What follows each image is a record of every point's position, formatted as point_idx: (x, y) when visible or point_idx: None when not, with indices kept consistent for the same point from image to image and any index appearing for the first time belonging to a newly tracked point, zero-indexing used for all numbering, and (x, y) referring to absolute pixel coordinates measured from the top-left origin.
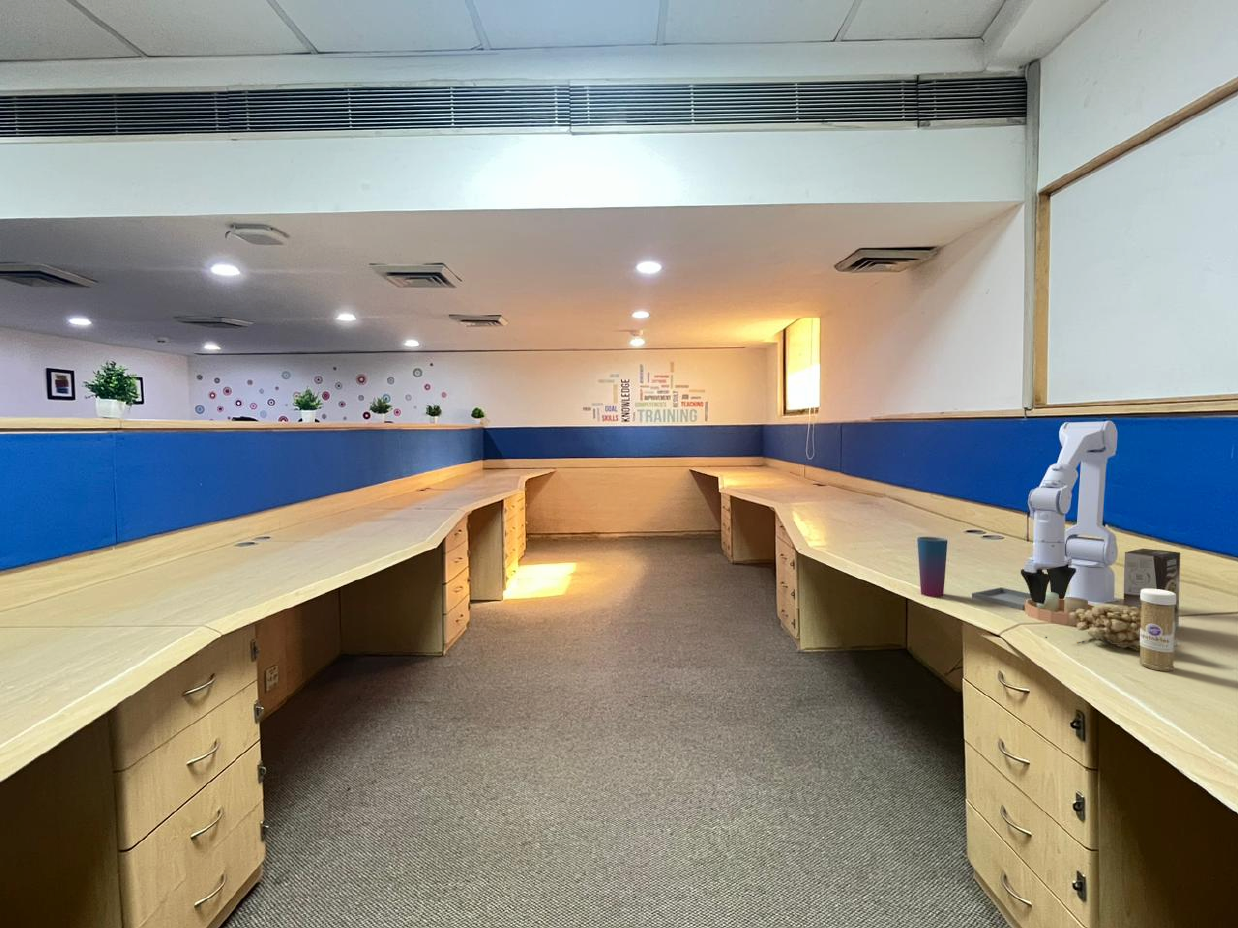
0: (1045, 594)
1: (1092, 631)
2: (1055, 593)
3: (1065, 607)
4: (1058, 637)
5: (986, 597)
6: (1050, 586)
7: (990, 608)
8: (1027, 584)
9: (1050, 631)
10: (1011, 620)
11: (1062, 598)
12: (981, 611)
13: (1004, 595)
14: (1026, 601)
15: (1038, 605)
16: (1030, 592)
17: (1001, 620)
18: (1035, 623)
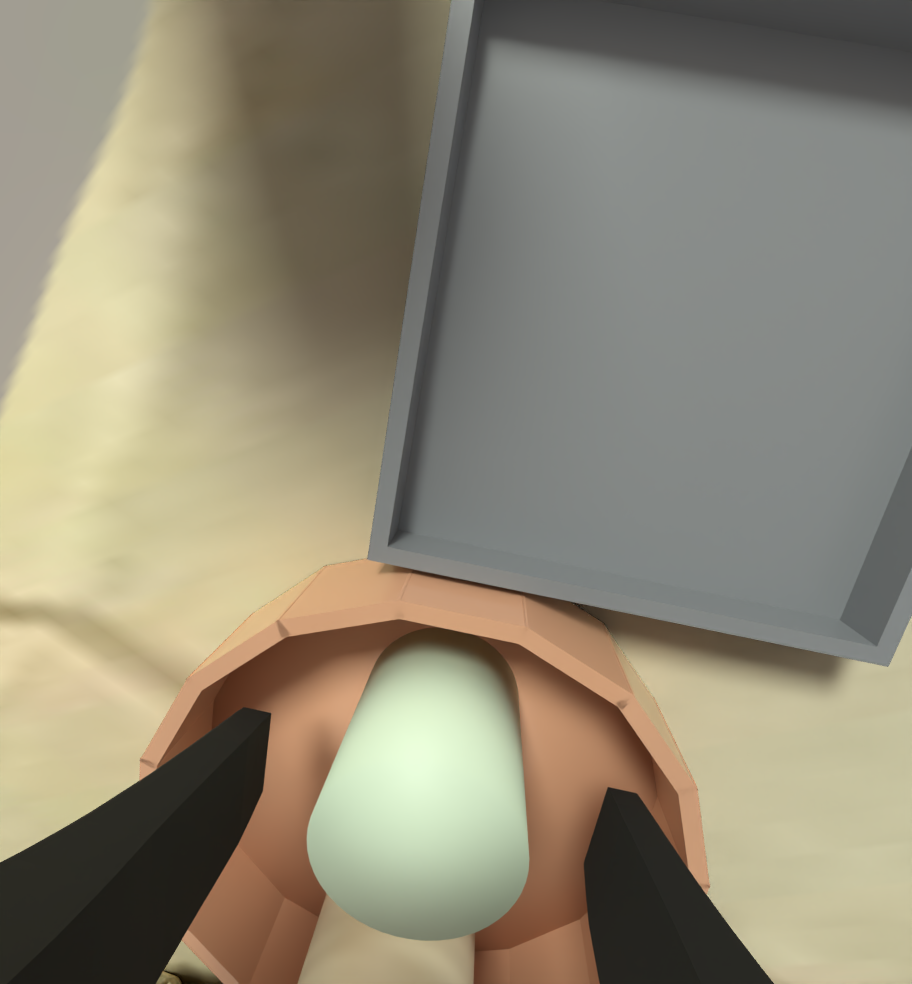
0: (191, 907)
1: None
2: (491, 906)
3: (333, 909)
4: (3, 834)
5: (434, 145)
6: (653, 890)
7: (294, 289)
8: (26, 851)
9: (75, 782)
10: (91, 549)
11: (586, 874)
12: (125, 280)
13: (895, 182)
14: (313, 623)
15: (368, 692)
16: (159, 772)
17: (25, 501)
18: (167, 680)
